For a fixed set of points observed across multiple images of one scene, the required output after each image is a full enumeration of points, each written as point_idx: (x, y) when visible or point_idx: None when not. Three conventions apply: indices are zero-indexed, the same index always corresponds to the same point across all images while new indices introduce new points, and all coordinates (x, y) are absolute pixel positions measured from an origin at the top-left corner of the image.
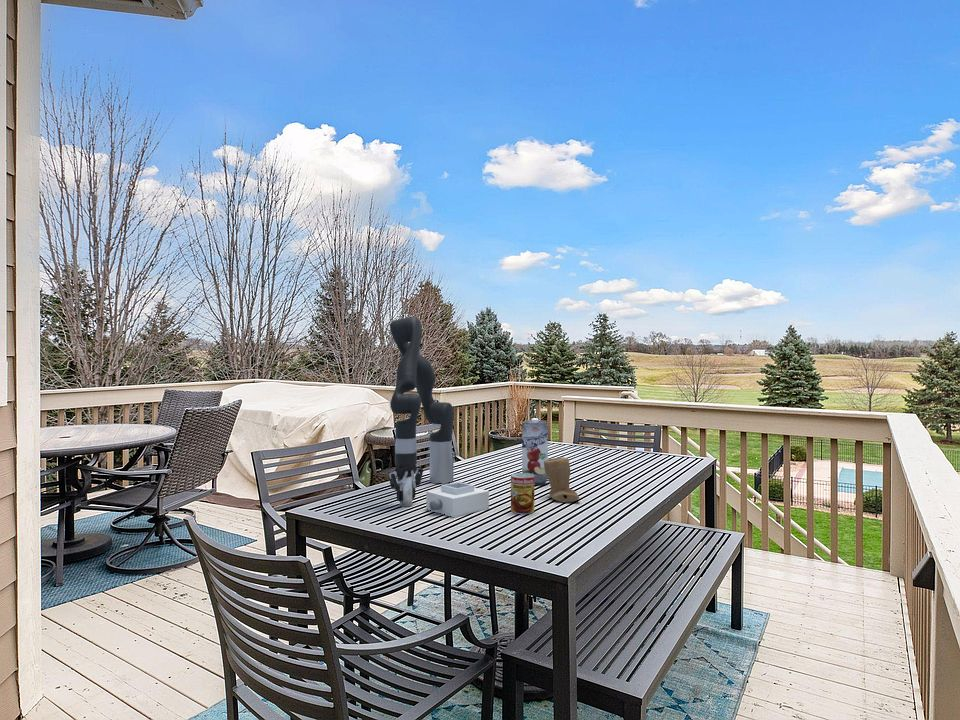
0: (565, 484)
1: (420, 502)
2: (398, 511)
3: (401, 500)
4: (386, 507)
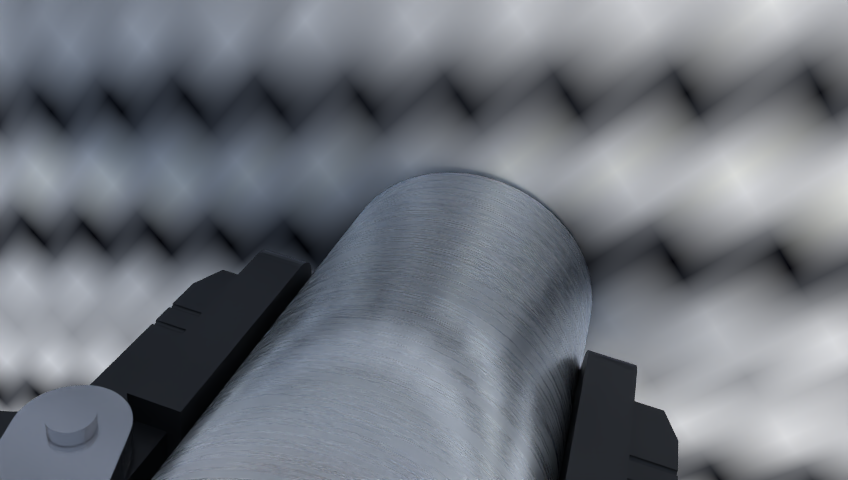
0: None
1: (842, 395)
2: None
3: None
4: (136, 54)
